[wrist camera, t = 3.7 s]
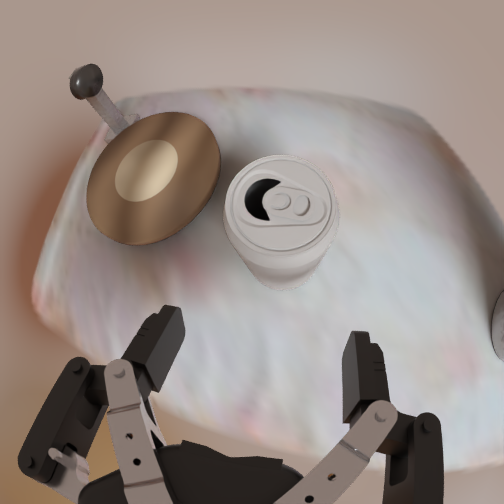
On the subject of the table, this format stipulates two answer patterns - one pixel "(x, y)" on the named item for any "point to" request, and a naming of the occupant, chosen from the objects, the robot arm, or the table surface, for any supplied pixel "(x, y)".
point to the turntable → (153, 178)
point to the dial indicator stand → (99, 99)
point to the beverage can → (281, 219)
